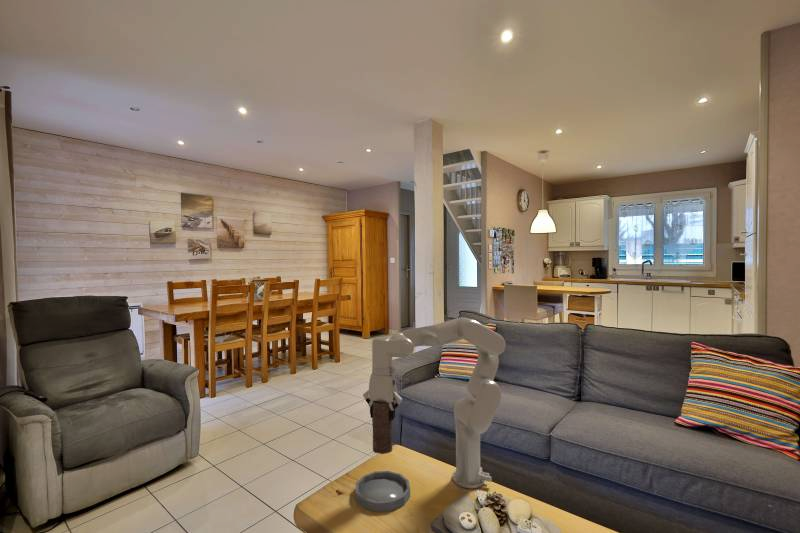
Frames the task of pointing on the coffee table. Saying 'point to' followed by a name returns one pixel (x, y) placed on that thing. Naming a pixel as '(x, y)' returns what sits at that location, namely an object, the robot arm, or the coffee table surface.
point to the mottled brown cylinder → (381, 428)
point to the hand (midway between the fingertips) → (382, 417)
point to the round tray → (382, 491)
